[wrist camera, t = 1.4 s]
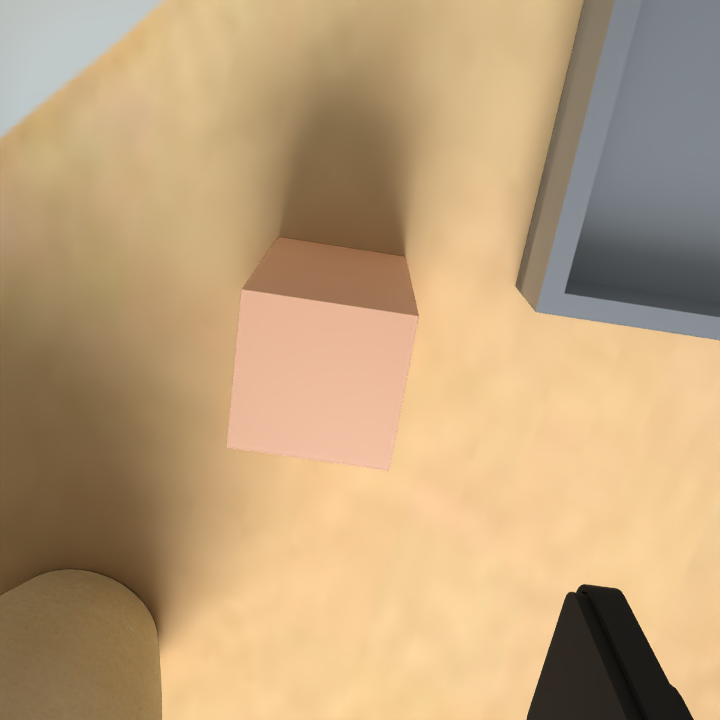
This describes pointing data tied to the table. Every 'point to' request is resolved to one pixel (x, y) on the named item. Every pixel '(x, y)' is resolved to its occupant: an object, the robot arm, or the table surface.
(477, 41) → the table surface
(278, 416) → the terracotta block
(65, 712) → the plant pot
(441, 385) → the table surface
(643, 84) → the tray
